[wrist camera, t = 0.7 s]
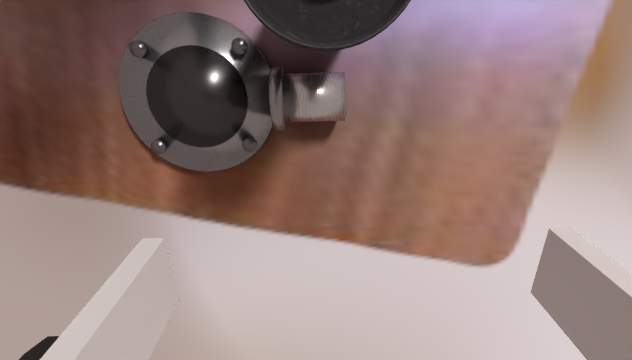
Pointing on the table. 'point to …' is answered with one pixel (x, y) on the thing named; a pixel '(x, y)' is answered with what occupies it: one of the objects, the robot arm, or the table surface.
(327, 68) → the table surface
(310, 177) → the table surface
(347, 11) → the travel mug
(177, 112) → the fitting
